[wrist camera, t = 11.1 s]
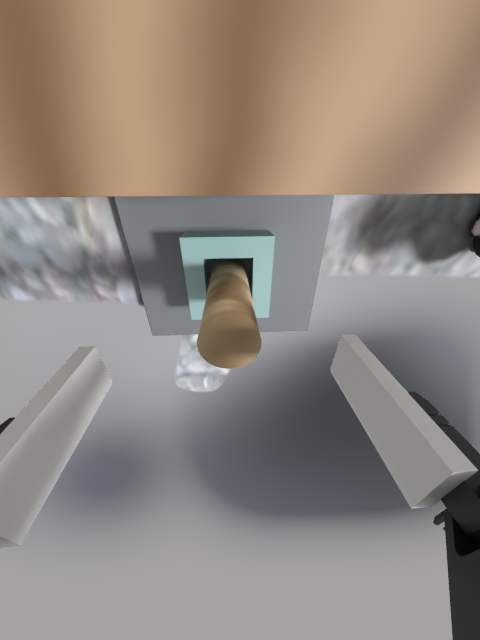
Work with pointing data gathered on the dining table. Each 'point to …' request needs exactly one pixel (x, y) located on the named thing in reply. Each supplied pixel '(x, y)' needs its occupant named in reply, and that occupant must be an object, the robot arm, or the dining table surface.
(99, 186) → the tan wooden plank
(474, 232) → the figurine
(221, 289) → the oak peg
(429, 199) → the dining table surface
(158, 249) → the socket board
